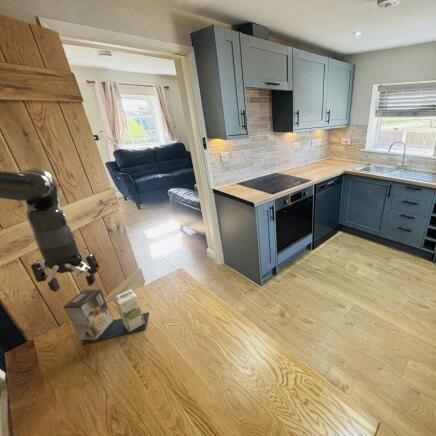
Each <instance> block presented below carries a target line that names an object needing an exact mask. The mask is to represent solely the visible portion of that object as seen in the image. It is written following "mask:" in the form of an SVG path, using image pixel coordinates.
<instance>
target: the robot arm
mask: <svg viewBox="0 0 436 436" xmlns="http://www.w3.org/2000/svg"><path fill="white" fill-rule="evenodd" d="M57 187H58V186H57V184H56V181H55V179H54V178H53V176H52V175H51V174H50V173H49V172H48V171H46V170H43V169H41V168H36V167H34V168H32V167H30V168H25V169H23V170H21V171H20V172H13V171H1V170H0V199H3V200H10V201H20V202H25V204H26V210H25V215H26V220H27V222H28V224H29V227H30V229H31V231H32V234H33V238H34V241H35V243H36V246H37V248H38V250H39V252H40V255H41V257H42V259H43V260H40V259H37V260H35V261H34V262H33V263H32V264H31V265H30V268H31V271H32V274H33V275H34V276H33V277H34V278H35V281H36V282H37V283H41V282H45V283H47V286H48V287H49V290H50V291H53V293H55V292H56V293H57V292H58V291H59V290H60V289H61V286H60V283H59V281H58V279H57V277H56V275H57V274H58V273H59V274H60V275H61V274H64V273H73V272H76V273H78V274H82V275H84V276H85V280H86V282H87V285H88V287H91V286H93V285H94V284H95V282H96V277H95V274H97V273H98V271H99V269H100V266H99V262H98V261H97V258H96V255H95V254H94V253H93V252H90V253H88V254H86V255H82V254H81V253H80V251H79V247H78V245H77V242H76V239H75V235H74V234H73V231H72V229H71V227H70V226H69V224H68V221H67V219H66V216H65V214H64V211H63V209H62V207H61V202H60V195H59V192H58V188H57ZM83 261H84V262H83ZM87 264H88V265H87ZM45 267H46V268H48V269H50V272H49V274H47V273H46V271H45Z"/></svg>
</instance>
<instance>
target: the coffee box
mask: <svg viewBox="0 0 436 436" xmlns="http://www.w3.org/2000/svg"><path fill="white" fill-rule="evenodd" d="M63 310H64V312H65V313H66V315H67V317H68V319H69V321H70V323H71V325H72V326H73V329H74V331H75V333H76V334H77V336H78V338H79V340H84V339H86V340H96V339H97V338H98V337H99V336H100V335H101V334H102V333H103V331H104V330H105V329H106V328H107V327H108V326H109V325H110V324H111V322H112V321H113V320H114V318H113V316H112V313H111V312H110V309H109V307H108V304H107V302H106V299H105V297H104V294H103V292H102V290H101V289H97V288H96V289H95V288H94V289H93V288H91V289H87V288H86V289H83V290H82V291H81V292H79V293H78V294H77V295H76V296H75V297H73V298H72V299H71V300H70V301H68V302H67V303H66V304H65V305H64V306H63Z"/></svg>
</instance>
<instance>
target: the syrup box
mask: <svg viewBox="0 0 436 436" xmlns="http://www.w3.org/2000/svg"><path fill="white" fill-rule="evenodd" d="M113 298H114V301H115V304H116V307H117V310H118V313H119V315H120V319H121V318H122V321H123V324H124V326H125V327H126V328H127V330H128V331H129V332H131V331H133V330H134V329H136V328H138V327H140V326H141V325H143V324H145V322H144V319H143V315H142V314H143V312H142V309H141V306H140V302H139V299H138V296H137V295H136V293H135V292H133V290H132V289H128V290H127V291H124V292H122V293H119V294H117V295H115V296H113Z"/></svg>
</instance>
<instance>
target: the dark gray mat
mask: <svg viewBox="0 0 436 436" xmlns="http://www.w3.org/2000/svg"><path fill="white" fill-rule="evenodd" d="M142 315H143V319H144V322H145V324H143V325H141V326H140V327H138V328H136V329H134V330H133V331H131V332H129V331H128V330H127V328H126V327H125V326H124V324H123V321H122V318H121V317H120V318H117V319H113V321H112V322H111V324H110V325H109V326H108V327H107V328H106V329H105V330H104V331H103V333H102V334H101V335H100V336H99V337H98V338H97V339H96V340H86V339H83V341H82V343H81V346H85V345H89V344H93V343H98V342H102V341H105V340H109V339H113V338H118V337H122V336H126V335H129V334H135V333H138V332H143V331H146V329H147V325H148V320H149V315H150V311H147V312H144V313H143V312H142Z"/></svg>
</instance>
